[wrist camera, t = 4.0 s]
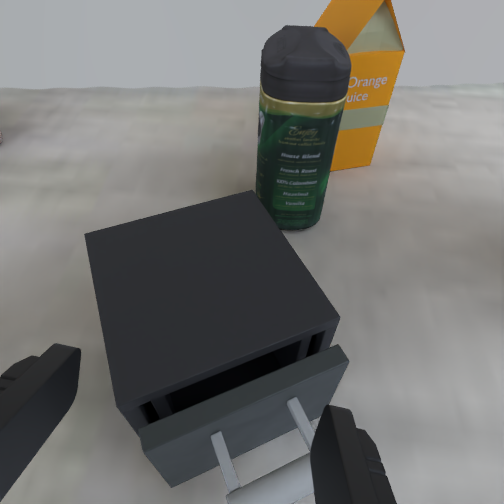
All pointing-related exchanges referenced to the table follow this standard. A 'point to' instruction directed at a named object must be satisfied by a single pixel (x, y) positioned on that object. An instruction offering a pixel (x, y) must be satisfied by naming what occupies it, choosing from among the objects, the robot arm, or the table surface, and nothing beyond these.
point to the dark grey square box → (199, 298)
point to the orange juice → (364, 73)
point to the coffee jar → (299, 121)
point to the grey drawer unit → (245, 421)
